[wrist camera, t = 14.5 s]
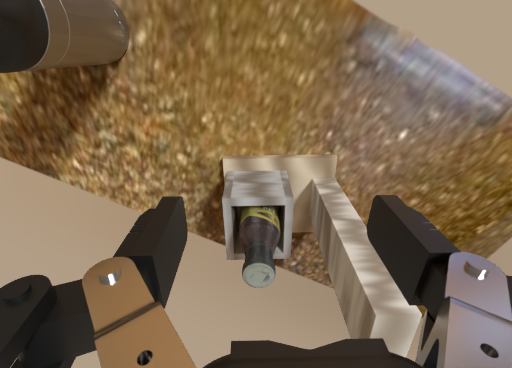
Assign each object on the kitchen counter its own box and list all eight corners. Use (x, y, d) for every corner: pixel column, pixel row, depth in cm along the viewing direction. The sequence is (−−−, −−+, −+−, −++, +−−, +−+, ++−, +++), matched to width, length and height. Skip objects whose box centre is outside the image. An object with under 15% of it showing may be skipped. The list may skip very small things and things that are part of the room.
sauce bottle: (282, 201, 50) (298, 283, 33) (256, 217, 52) (257, 304, 34) (262, 176, 48) (267, 249, 30) (235, 194, 50) (224, 274, 32)
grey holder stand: (228, 229, 55) (206, 393, 29) (223, 156, 48) (186, 285, 21) (325, 227, 55) (392, 390, 29) (334, 154, 48) (435, 281, 21)
